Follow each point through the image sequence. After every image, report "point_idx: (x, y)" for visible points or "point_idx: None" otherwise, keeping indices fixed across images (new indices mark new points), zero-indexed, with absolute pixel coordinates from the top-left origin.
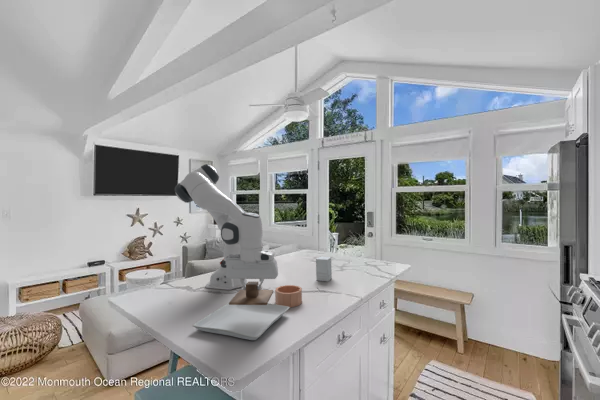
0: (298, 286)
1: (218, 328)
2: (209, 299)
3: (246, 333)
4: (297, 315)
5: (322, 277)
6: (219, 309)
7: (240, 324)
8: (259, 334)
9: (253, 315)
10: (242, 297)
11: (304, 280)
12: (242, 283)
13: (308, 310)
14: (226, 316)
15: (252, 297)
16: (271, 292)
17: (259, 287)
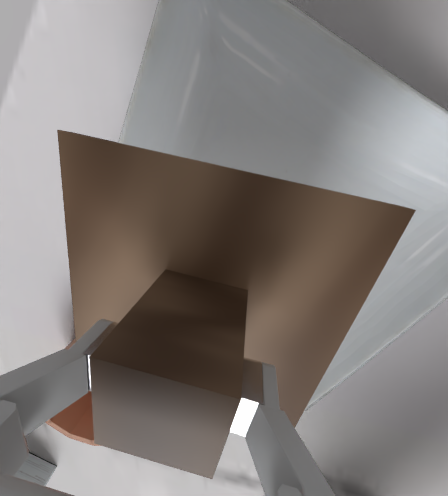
0: (47, 422)
1: (384, 200)
2: (389, 457)
3: (251, 118)
4: (68, 263)
5: (29, 471)
6: (380, 342)
7: None
8: (183, 58)
9: None
10: (277, 301)
11: (89, 475)
12: (290, 448)
13: (40, 292)
14: None
15: (195, 278)
16: (78, 336)
17: (92, 338)
